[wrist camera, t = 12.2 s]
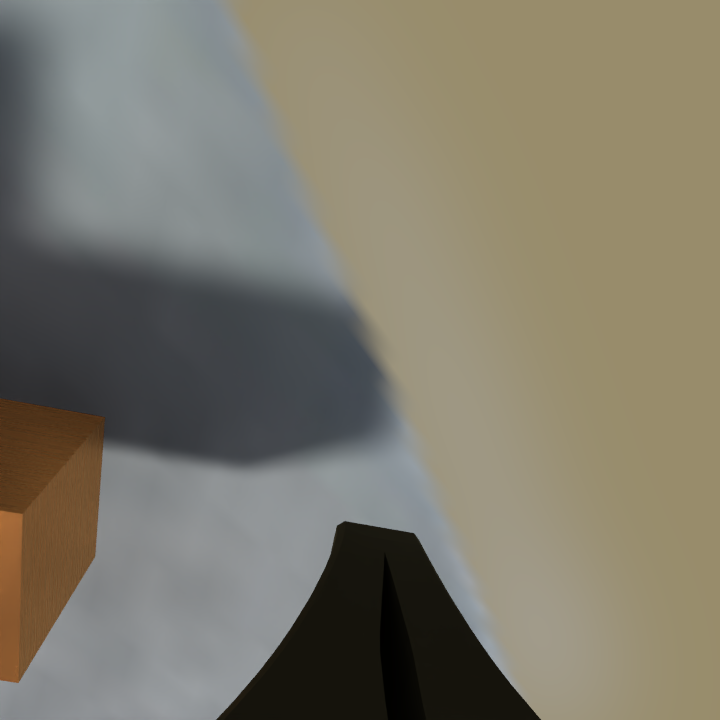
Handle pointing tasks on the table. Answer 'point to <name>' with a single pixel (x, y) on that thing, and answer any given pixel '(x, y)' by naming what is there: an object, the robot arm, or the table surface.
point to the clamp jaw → (43, 521)
